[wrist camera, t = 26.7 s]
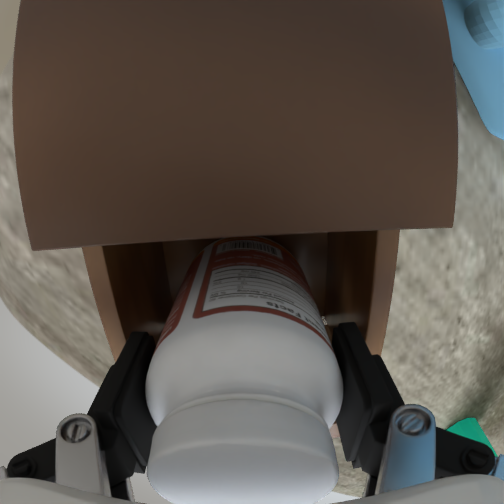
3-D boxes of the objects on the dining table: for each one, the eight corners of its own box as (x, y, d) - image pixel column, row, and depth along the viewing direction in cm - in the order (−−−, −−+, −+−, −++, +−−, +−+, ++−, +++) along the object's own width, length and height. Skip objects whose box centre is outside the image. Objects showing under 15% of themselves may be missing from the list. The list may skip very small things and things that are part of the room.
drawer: (334, 388, 21) (358, 475, 14) (178, 395, 21) (158, 483, 14) (349, 132, 15) (426, 134, 8) (130, 146, 15) (46, 160, 8)
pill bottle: (230, 353, 18) (218, 536, 7) (162, 272, 16) (67, 452, 6) (326, 301, 17) (397, 486, 6) (264, 205, 15) (296, 369, 4)
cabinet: (355, 179, 17) (453, 228, 8) (131, 192, 17) (31, 252, 8) (337, -34, 12) (394, -125, 3) (124, -18, 12) (48, -95, 3)
